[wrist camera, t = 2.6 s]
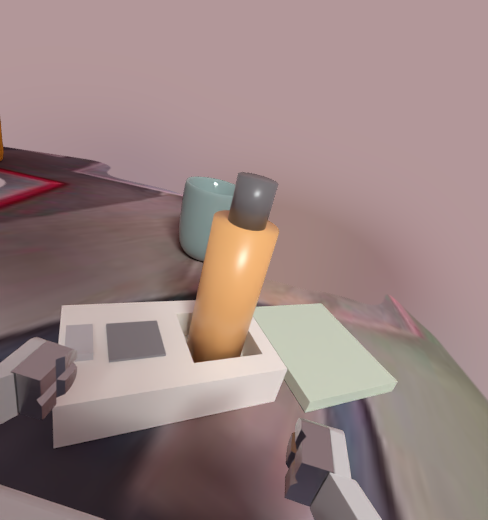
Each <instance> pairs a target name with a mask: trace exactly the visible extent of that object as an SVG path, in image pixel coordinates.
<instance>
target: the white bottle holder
mask: <svg viewBox="0 0 488 520" xmlns="http://www.w3.org/2000/svg"><path fill="white" fill-rule="evenodd" d="M195 301H196V300H188V301H162V302H136V303H110V304H84V305H62V310H61V321H60V332H59V342H58V344H60V345H63V346H66V347H69V348H72V349H74V350H76V351H77V359H76V360H75V361H74V363H75V365H76V366H77V374H76V378H75V380H74V382H73V384H72V386H71V388H70V389H69V390H68V391H67V392H66V394H64V395H62V396H59V397H57V400H56V405H55V406H54V408H53V409H52V411H53V449H54V448H58V447H63V446H68V445H72V444H77V443H82V442H86V441H91V440H96V439H100V438H105V437H110V436H114V435H119V434H124V433H128V432H133V431H138V430H142V429H147V428H152V427H156V426H161V425H166V424H170V423H175V422H180V421H184V420H189V419H194V418H198V417H203V416H208V415H212V414H217V413H222V412H226V411H231V410H236V409H240V408H245V407H250V406H254V405H259V404H264V403H268V402H273V401H275V399H276V396H277V394H278V391H279V389H280V386H281V384H282V381H283V379H284V376H285V374H286V371H287V367H286V366H285V364H284V363H283V361H282V360H281V358H280V357H279V355H278V354H277V352H276V351H275V349H274V348H273V346H272V345H271V343H270V342H269V340H268V338H267V337H266V335H265V334H264V332H263V331H262V329H261V328H260V326H259V325H258V323H257V322H256V320H255V319H254V317H252V320H251V324H250V327H249V330H248V333H247V336H246V340H245V343H244V346H243V349H242V352H241V356H240V357H236V358H228V359H220V360H213V361H205V362H198V363H194V362H193V359H192V357H191V354H190V351H189V348H188V346H187V339H188V334H189V329H190V325H191V320H192V315H193V310H194V306H195Z"/></svg>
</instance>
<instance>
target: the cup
mask: <svg viewBox="0 0 488 520" xmlns="http://www.w3.org/2000/svg"><path fill="white" fill-rule="evenodd" d="M234 190H235V185H234V184H232V183H229V182H226V181H223V180H219V179H215V178H209V177H189V178H188V179H187V180H186V183H185V188H184V194H183V199H182V206H181V213H180V221H179V240H180V244H181V247H182V249H183V250H184V251H185V253H187V254H188V255H189V256H190V257H192V258H194V259H196V260H199V261H204V259H205V254H206V249H207V244H208V240H209V235H210V230H211V226H212V221H213V216H214V214H215V213H216V212H218V211H223V210H230V207H231V202H232V198H233V194H234Z"/></svg>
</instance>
